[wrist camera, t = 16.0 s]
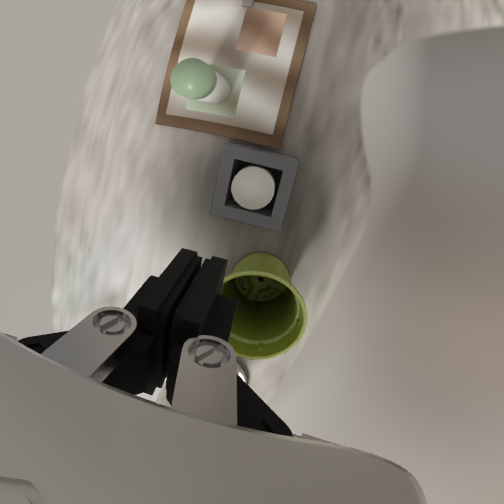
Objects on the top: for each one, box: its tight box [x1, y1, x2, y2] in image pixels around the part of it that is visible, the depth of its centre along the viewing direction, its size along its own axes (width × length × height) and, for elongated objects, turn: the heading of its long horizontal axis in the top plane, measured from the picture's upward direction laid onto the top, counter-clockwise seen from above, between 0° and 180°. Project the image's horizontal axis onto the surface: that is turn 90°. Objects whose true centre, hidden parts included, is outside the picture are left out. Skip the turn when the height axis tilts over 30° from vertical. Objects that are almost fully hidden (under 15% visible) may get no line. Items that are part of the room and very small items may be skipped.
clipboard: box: [155, 0, 316, 149], centre depth 26 cm, size 16×13×1 cm
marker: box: [170, 58, 230, 104], centre depth 24 cm, size 3×3×8 cm
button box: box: [210, 142, 299, 232], centre depth 30 cm, size 7×7×3 cm
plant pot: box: [220, 252, 307, 360], centre depth 32 cm, size 9×9×9 cm
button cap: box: [231, 164, 275, 210], centre depth 30 cm, size 4×4×2 cm
